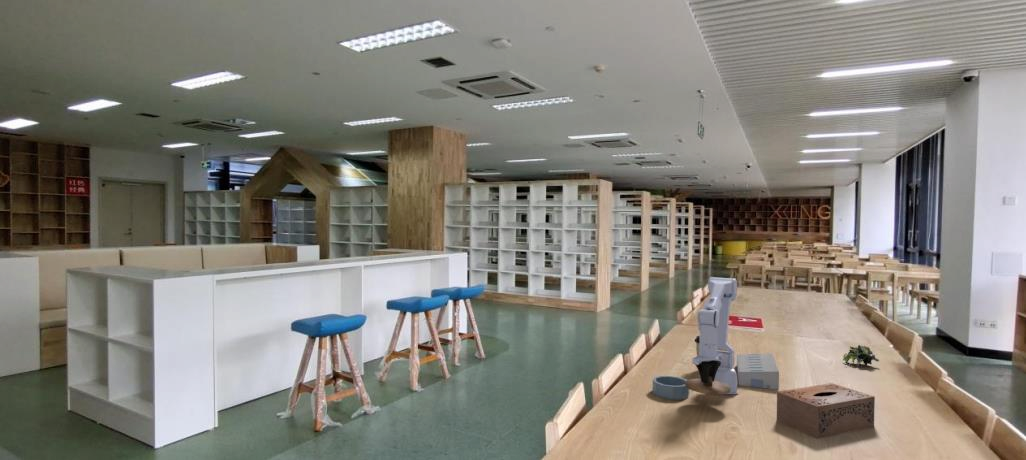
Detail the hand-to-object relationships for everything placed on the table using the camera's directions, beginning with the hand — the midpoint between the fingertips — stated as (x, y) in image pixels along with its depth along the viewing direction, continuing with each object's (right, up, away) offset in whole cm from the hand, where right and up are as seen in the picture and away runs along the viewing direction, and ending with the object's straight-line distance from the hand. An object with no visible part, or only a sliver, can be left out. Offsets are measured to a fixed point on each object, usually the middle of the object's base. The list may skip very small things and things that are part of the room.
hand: (707, 381), depth 177 cm
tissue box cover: (+33, -10, -14) cm, 37 cm away
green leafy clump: (+91, -9, +54) cm, 106 cm away
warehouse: (+35, -9, +36) cm, 50 cm away
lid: (0, -2, 0) cm, 2 cm away
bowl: (-9, -9, +14) cm, 19 cm away
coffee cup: (+16, -9, +43) cm, 47 cm away
